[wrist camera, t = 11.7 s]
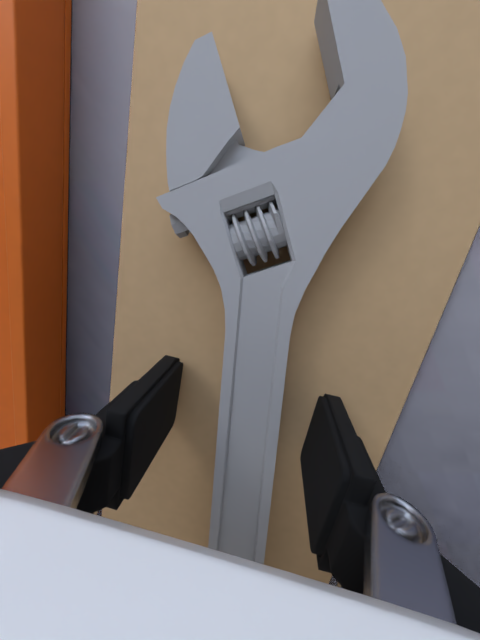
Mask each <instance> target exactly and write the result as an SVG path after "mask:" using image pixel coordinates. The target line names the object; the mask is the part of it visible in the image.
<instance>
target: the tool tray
mask: <svg viewBox="0 0 480 640" xmlns="http://www.w3.org/2000/svg"><path fill="white" fill-rule="evenodd" d="M71 2H72V0H0V449H4V448H8V447H12V446H16V445H20V444H24V443H29V442H33V441H36V440H37V439H38V438H39V436H40V435H41V433H42V432H43V431H44V429H45V428H46V427H47V426H48V425H49V424H50V423H51V422H53V421H55V420H56V419H58V418H61V417H63V416H65V376H66V313H67V251H68V189H69V127H70V64H71Z"/></svg>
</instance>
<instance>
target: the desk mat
mask: <svg viewBox="0 0 480 640" xmlns="http://www.w3.org/2000/svg"><path fill="white" fill-rule="evenodd" d="M381 1H382V3H383V5H384V6H385V8H386V10H387V12H388V13H389V15H390V17H391V19H392V20H393V22H394V24H395V25H396V27H397V30H398V33H399V36H400V39H401V42H402V46H403V49H404V52H405V55H406V68H407V86H408V97H407V105H406V112H405V116H404V120H403V124H402V127H401V131H400V134H399V136H398V139H397V142H396V145H395V148H394V150H393V152H392V154H391V156H390V158H389V160H388V162H387V164H386V166H385V167H384V169H383V170H382V171H381V173H380V174H379V176H378V177H377V178H376V180H375V181H374V183H373V184H372V185H371V187H370V188H369V190H368V191H367V192H366V194H365V195H364V197H363V198H362V199H361V201H360V202H359V204H358V205H357V207H356V208H355V209H354V211H353V212H352V214H351V215H350V216H349V218H348V219H347V221H346V222H345V223H344V225H343V226H342V228H341V229H340V231H339V232H338V234H337V235H336V237H335V239H334V240H333V242H332V243H331V245H330V247H329V248H328V250H327V251H326V253H325V255H324V257H323V259H322V260H321V262H320V264H319V266H318V268H317V269H316V271H315V273H314V275H313V277H312V278H311V280H310V282H309V284H308V285H307V287H306V289H305V291H304V294H303V296H302V298H301V301H300V303H299V305H298V308H297V310H296V313H295V316H294V320H293V325H292V329H291V334H290V340H289V348H288V357H287V366H286V375H285V383H284V392H283V401H282V410H281V418H280V427H279V436H278V445H277V453H276V462H275V471H274V480H273V488H272V497H271V506H270V514H269V523H268V532H267V541H266V549H265V558H264V565H267V566H271V567H274V568H277V569H281V570H284V571H287V572H291V573H294V574H297V575H300V576H304V577H307V578H310V579H314V580H317V581H320V582H323V583H327V584H329V582H330V579H331V577H332V574H331V573H328V572H325V571H321V570H318V564H317V557H316V554H313V553H311V550H310V542H309V533H308V524H307V516H306V507H305V498H304V489H303V480H302V471H301V462H300V456H301V451H302V447H303V444H304V441H305V438H306V435H307V431H308V428H309V425H310V422H311V419H312V415H313V412H314V409H315V406H316V403H317V400H318V397H319V396H322V397H323V396H324V394H330V395H334V396H338V397H340V398H341V400H342V402H343V404H344V406H345V409H346V411H347V413H348V416H349V418H350V420H351V422H352V425H353V427H354V429H355V432H356V434H357V436H359V437H360V438H361V439H362V441H363V444H364V446H365V448H366V450H367V452H368V455H369V457H370V459H371V461H372V464H373V466H374V468H375V470H377V468H378V465H379V463H380V461H381V458H382V456H383V453H384V451H385V449H386V446H387V444H388V442H389V439H390V437H391V434H392V432H393V430H394V427H395V425H396V423H397V420H398V418H399V415H400V413H401V411H402V408H403V406H404V404H405V401H406V399H407V396H408V394H409V392H410V389H411V387H412V385H413V382H414V380H415V378H416V375H417V373H418V370H419V368H420V366H421V363H422V361H423V359H424V356H425V354H426V351H427V349H428V347H429V344H430V342H431V340H432V337H433V335H434V332H435V330H436V328H437V325H438V323H439V321H440V318H441V316H442V313H443V311H444V309H445V306H446V304H447V302H448V299H449V297H450V294H451V292H452V290H453V287H454V285H455V283H456V280H457V278H458V275H459V273H460V271H461V268H462V266H463V264H464V261H465V259H466V256H467V254H468V252H469V249H470V247H471V245H472V242H473V240H474V237H475V235H476V233H477V230H478V228H479V226H480V0H381ZM316 6H317V0H137V12H136V27H135V41H134V56H133V70H132V85H131V99H130V114H129V128H128V143H127V157H126V172H125V186H124V200H123V215H122V229H121V244H120V258H119V273H118V287H117V302H116V316H115V331H114V345H113V360H112V374H111V389H110V402H111V401H112V400H113V399H114V398H115V397H116V396H117V395H118V394H119V393H121V392H122V391H123V390H124V389H125V388H126V387H127V386H128V385H129V384H131V383H132V382H133V381H135V380H137V381H138V380H139V379H140V378H141V377H142V376H143V375H144V374H146V373H147V372H148V371H149V370H150V369H151V368H152V367H153V366H154V365H155V364H156V363H157V362H158V361H159V360H161V359H162V358H163V357H164V356H165V355H168V356H172V357H177V358H179V359H180V362H182V363H183V371H182V378H181V385H180V391H179V398H178V405H177V411H176V418H175V422H174V425H173V427H172V429H171V430H170V432H169V434H168V435H167V437H166V439H165V440H164V442H163V444H162V446H161V447H160V449H159V451H158V452H157V454H156V456H155V457H154V459H153V461H152V462H151V464H150V466H149V467H148V469H147V471H146V473H145V474H144V476H143V478H142V479H141V481H140V483H139V484H138V486H137V488H136V489H135V491H134V493H133V494H132V496H131V498H130V499H129V500H127V499H124V500H123V501H122V503H121V505H120V506H119V508H118V509H117V510H114V509H111V508H107V507H105V508H103V509H102V517H105V518H108V519H112V520H115V521H119V522H122V523H125V524H129V525H132V526H136V527H139V528H143V529H146V530H150V531H153V532H156V533H160V534H163V535H167V536H170V537H173V538H177V539H180V540H183V541H187V542H190V543H194V544H197V545H200V546H204V547H207V548H208V544H209V532H210V519H211V506H212V494H213V481H214V469H215V456H216V443H217V431H218V418H219V405H220V393H221V380H222V368H223V355H224V342H225V308H224V302H223V297H222V291H221V287H220V284H219V282H218V279H217V277H216V274H215V272H214V269H213V268H212V266H211V264H210V263H209V261H208V259H207V258H206V256H205V254H204V252H203V251H202V249H201V247H200V246H199V244H198V242H197V241H196V239H195V237H194V236H193V234H192V233H191V232H190V233H189V234H188V236H186V237H183V238H179V237H178V236H177V235H176V234H175V232H174V230H173V228H172V225H171V221H170V215H171V213H169V212H167V211H166V210H164V209H162V207H161V205H160V204H159V202H158V200H157V199H156V197H158V196H160V195H163V194H165V193H168V192H170V191H169V187H168V179H167V164H166V137H167V123H168V116H169V110H170V105H171V101H172V97H173V93H174V89H175V85H176V83H177V80H178V77H179V74H180V72H181V69H182V66H183V63H184V61H185V59H186V57H187V55H188V53H189V51H190V49H191V47H192V45H193V43H194V41H195V40H196V39H198V38H200V37H202V36H204V35H206V34H208V33H210V32H212V34H213V37H214V40H215V44H216V47H217V50H218V54H219V57H220V60H221V64H222V67H223V71H224V74H225V77H226V81H227V84H228V88H229V91H230V95H231V98H232V102H233V105H234V109H235V112H236V115H237V119H238V122H239V126H240V129H241V133H242V136H243V140H244V143H245V147H247V148H250V149H253V150H257V151H261V152H266V151H268V150H270V149H273V148H275V147H278V146H280V145H283V144H286V143H288V142H291V141H294V140H296V139H299V138H302V136H303V135H304V134H305V133H306V131H307V130H308V129H309V128H310V126H311V125H312V124H313V122H314V121H315V120H316V119H317V117H318V116H319V115H320V114H321V112H322V111H323V110H324V109H325V107H326V106H327V105H328V104H329V102H330V101H331V98H330V93H329V89H328V84H327V79H326V75H325V70H324V66H323V61H322V57H321V52H320V48H319V43H318V38H317V34H316V29H315V25H314V19H315V13H316ZM274 207H275V209H277V207H276V205H275V206H274ZM255 210H256V209H255ZM261 211H262V213H266V212H268V208H266V209H263V210H261ZM249 216H250V217H251V218H252V217H255V216H256V212H255V213H252V214H249ZM237 219H238V221H239V222H241V221H244V220H245V218H244V216H243V217H240V218H237ZM232 224H233V221H232ZM267 254H268V260H267V262H264V261H263V260H262V258H261V257H260V255H257V256H256V259H257V264H256V265H255V266H252V265H251V264H250V263H249V261H248V259H244V260H243V261H244V265H245V268H246V271H247V274H249V273H252V272H255V271H258V270H261V269H264V268H267V267H270V266H273V265H276V264H279V263H282V262H285V261H288V260H290V256H289V253H288V249H287V246H286V247H282V248H279V258H277V259H276V258H275V256H274V254H273V252H272V251H270V252H267Z"/></svg>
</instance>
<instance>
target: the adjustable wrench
mask: <svg viewBox="0 0 480 640" xmlns="http://www.w3.org/2000/svg"><path fill="white" fill-rule="evenodd" d="M314 25H315V29H316V34H317V38H318V43H319V48H320V52H321V57H322V61H323V66H324V70H325V75H326V79H327V84H328V89H329V93H330V98H331V101H330V102H329V104H328V105H327V106H326V107H325V109H324V110H323V111H322V112H321V114H320V115H319V116H318V117H317V119H316V120H315V121H314V122H313V124H312V125H311V126H310V128H309V129H308V130H307V131H306V133H305V134H304V135H303V136H302V138H299V139H296V140H294V141H291V142H288V143H286V144H283V145H280V146H278V147H275V148H273V149H270V150H268V151H266V152H261V151H257V150H253V149H250V148H247V147H245V143H244V140H243V136H242V133H241V129H240V126H239V122H238V119H237V115H236V112H235V109H234V105H233V102H232V98H231V95H230V91H229V88H228V84H227V81H226V77H225V74H224V71H223V67H222V64H221V60H220V57H219V54H218V50H217V47H216V44H215V40H214V37H213V34H212V32H210V33H208V34H206V35H204V36H202V37H200V38H198V39H196V40H195V41H194V43H193V45H192V47H191V49H190V51H189V53H188V55H187V57H186V59H185V61H184V63H183V66H182V69H181V72H180V74H179V77H178V80H177V83H176V85H175V89H174V93H173V97H172V101H171V105H170V110H169V116H168V123H167V137H166V164H167V179H168V187H169V191H170V192H168V193H165V194H163V195H160V196H158V197H156V199H157V200H158V202H159V204H160V205H161V207H162V209H164V210H166V211H167V212H169V213H171V215H170V221H171V225H172V228H173V230H174V232H175V234H176V235H177V236H178V237H179V238H183V237H186V236H188V234H189V233H190V232H191V233H192V234H193V236H194V237H195V239H196V241H197V242H198V244H199V246H200V247H201V249H202V251H203V252H204V254H205V256H206V258H207V259H208V261H209V263H210V264H211V266H212V268H213V269H214V272H215V274H216V277H217V279H218V282H219V284H220V287H221V291H222V297H223V302H224V308H225V342H224V355H223V368H222V380H221V393H220V405H219V418H218V431H217V443H216V456H215V469H214V481H213V494H212V506H211V519H210V532H209V544H208V548H210V549H214V550H217V551H221V552H224V553H227V554H231V555H234V556H237V557H241V558H244V559H247V560H251V561H254V562H257V563H261V564H264V558H265V549H266V541H267V532H268V523H269V514H270V506H271V497H272V488H273V480H274V471H275V462H276V453H277V445H278V436H279V427H280V418H281V410H282V401H283V392H284V383H285V375H286V366H287V357H288V348H289V340H290V334H291V329H292V325H293V320H294V316H295V313H296V310H297V308H298V305H299V303H300V301H301V298H302V296H303V294H304V291H305V289H306V287H307V285H308V284H309V282H310V280H311V278H312V277H313V275H314V273H315V271H316V269H317V268H318V266H319V264H320V262H321V260H322V259H323V257H324V255H325V253H326V251H327V250H328V248H329V247H330V245H331V243H332V242H333V240H334V239H335V237H336V235H337V234H338V232H339V231H340V229H341V228H342V226H343V225H344V223H345V222H346V221H347V219H348V218H349V216H350V215H351V214H352V212H353V211H354V209H355V208H356V207H357V205H358V204H359V202H360V201H361V199H362V198H363V197H364V195H365V194H366V192H367V191H368V190H369V188H370V187H371V185H372V184H373V183H374V181H375V180H376V178H377V177H378V176H379V174H380V173H381V171H382V170H383V169H384V167H385V166H386V164H387V162H388V160H389V158H390V156H391V154H392V152H393V150H394V148H395V145H396V142H397V139H398V136H399V134H400V131H401V127H402V124H403V120H404V116H405V112H406V105H407V97H408V86H407V68H406V55H405V52H404V49H403V46H402V42H401V39H400V36H399V33H398V30H397V27H396V25H395V24H394V22H393V20H392V19H391V17H390V15H389V13H388V12H387V10H386V8H385V6H384V5H383V3H382V1H381V0H317V6H316V13H315V19H314ZM275 205H276V207H277V209H275V207H274V206H275ZM266 208H268V212H266V213H262V211H261V210H263V209H266ZM255 209H256V210H255ZM255 212H256V216H255V217H252V218H251V217H250V216H249V214H252V213H255ZM243 216H244V218H245V220H244V221H241V222H239V221H238V219H237V218H240V217H243ZM232 221H233V224H232ZM286 246H287V249H288V253H289V256H290V260H288V261H285V262H282V263H279V264H276V265H273V266H270V267H267V268H264V269H261V270H258V271H255V272H252V273H249V274H247V271H246V268H245V265H244V261H243V260H244V259H248V261H249V263H250V264H251V265H252V266H255V265H256V264H257V259H256V256H257V255H260V257H261V258H262V260H263V261H264V262H267V260H268V254H267V252H270V251H272V252H273V254H274V256H275V258H276V259H277V258H279V248H282V247H286Z"/></svg>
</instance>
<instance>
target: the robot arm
mask: <svg viewBox="0 0 480 640" xmlns="http://www.w3.org/2000/svg"><path fill="white" fill-rule="evenodd" d="M182 371H183V363H182V362H180V359H179V358H177V357H172V356H168V355H165V356H164V357H163V358H162V359H161V360H159V361H158V362H157V363H156V364H155V365H154V366H153V367H152V368H151V369H150V370H149V371H148V372H147V373H146V374H144V375H143V376H142V377H141V378H140V379H139V380H138V381H137V380H135V381H133V382H132V383H131V384H129V385H128V386H127V387H126V388H125V389H124V390H123V391H122V392H121V393H119V394H118V395H117V396H116V397H115V398H114V399H113V400H112V401H111V402H109V403H108V404H107V405H106V406H105V407H104V408H103V409H102V410H101V411H100V412H98V413H97V414H96V415H92V414H87V413H75V414H70V415H66V416H63V417H61V418H58V419H56V420H55V421H53V422H51V423H50V424H49V425H48V426H47V427H46V428H45V429H44V431H43V432H42V433H41V435H40V436H39V438H38V439H37V440H36V441H33V442H29V443H24V444H20V445H16V446H12V447H8V448H4V449H0V640H480V588H479V587H478V586H477V585H476V584H475V583H473V582H472V581H471V580H470V579H469V578H467V577H466V576H465V575H464V574H463V573H462V572H460V571H459V570H458V569H457V568H456V567H455V566H453V565H452V564H451V563H450V562H449V561H448V560H446V559H445V558H444V557H443V556H442V555H441V554H440V552H439V548H438V544H437V540H436V536H435V533H434V531H433V528H432V526H431V525H430V524H429V522H428V521H427V519H426V518H425V517H424V516H423V515H422V514H421V513H420V511H419V510H418V509H416V508H415V507H414V506H413V505H411V504H410V503H409V502H407V501H405V500H404V499H402V498H400V497H398V496H395V495H393V494H388V493H386V492H385V490H384V488H383V486H382V483H381V481H380V479H379V477H378V475H377V472H376V470H375V468H374V466H373V464H372V461H371V459H370V457H369V455H368V452H367V450H366V448H365V446H364V444H363V441H362V439H361V438H360V437H359V436H357V434H356V432H355V429H354V427H353V425H352V422H351V420H350V418H349V416H348V413H347V411H346V409H345V406H344V404H343V402H342V400H341V398H340V397H338V396H334V395H330V394H324V396H323V397H322V396H319V397H318V400H317V403H316V406H315V409H314V412H313V415H312V419H311V422H310V425H309V428H308V431H307V435H306V438H305V441H304V444H303V447H302V451H301V456H300V462H301V471H302V480H303V489H304V498H305V507H306V516H307V524H308V533H309V542H310V550H311V553H313V554H316V557H317V564H318V570H321V571H325V572H328V573H331V574H332V575H333V576H334V578H335V579H336V580H337V581H338V583H337V586H333V585H330V584H327V583H323V582H320V581H317V580H314V579H310V578H307V577H304V576H300V575H297V574H294V573H291V572H287V571H284V570H281V569H277V568H274V567H271V566H267V565H264V564H261V563H257V562H254V561H251V560H247V559H244V558H241V557H237V556H234V555H231V554H227V553H224V552H221V551H217V550H214V549H210V548H207V547H204V546H200V545H197V544H194V543H190V542H187V541H183V540H180V539H177V538H173V537H170V536H167V535H163V534H160V533H156V532H153V531H150V530H146V529H143V528H139V527H136V526H132V525H129V524H125V523H122V522H119V521H115V520H112V519H108V518H105V517H101V516H98V515H97V511H98V510H101V509H103V508H105V507H107V508H111V509H114V510H117V509H118V508H119V506H120V505H121V503H122V501H123V500H124V499H127V500H129V499H130V498H131V496H132V494H133V493H134V491H135V489H136V488H137V486H138V484H139V483H140V481H141V479H142V478H143V476H144V474H145V473H146V471H147V469H148V467H149V466H150V464H151V462H152V461H153V459H154V457H155V456H156V454H157V452H158V451H159V449H160V447H161V446H162V444H163V442H164V440H165V439H166V437H167V435H168V434H169V432H170V430H171V429H172V427H173V425H174V422H175V418H176V411H177V405H178V398H179V391H180V385H181V378H182Z"/></svg>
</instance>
